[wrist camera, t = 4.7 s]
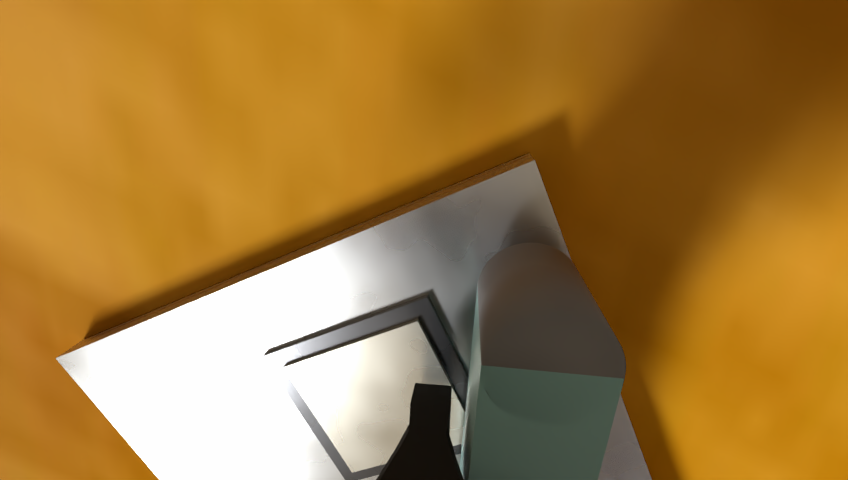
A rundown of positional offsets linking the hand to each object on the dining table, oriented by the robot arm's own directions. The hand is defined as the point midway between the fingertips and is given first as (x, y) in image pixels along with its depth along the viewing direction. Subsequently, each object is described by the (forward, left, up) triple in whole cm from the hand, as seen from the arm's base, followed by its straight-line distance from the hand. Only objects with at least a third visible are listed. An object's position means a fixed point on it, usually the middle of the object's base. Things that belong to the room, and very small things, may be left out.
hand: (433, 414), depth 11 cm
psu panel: (-4, +3, -3) cm, 6 cm away
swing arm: (-5, 0, -1) cm, 5 cm away
